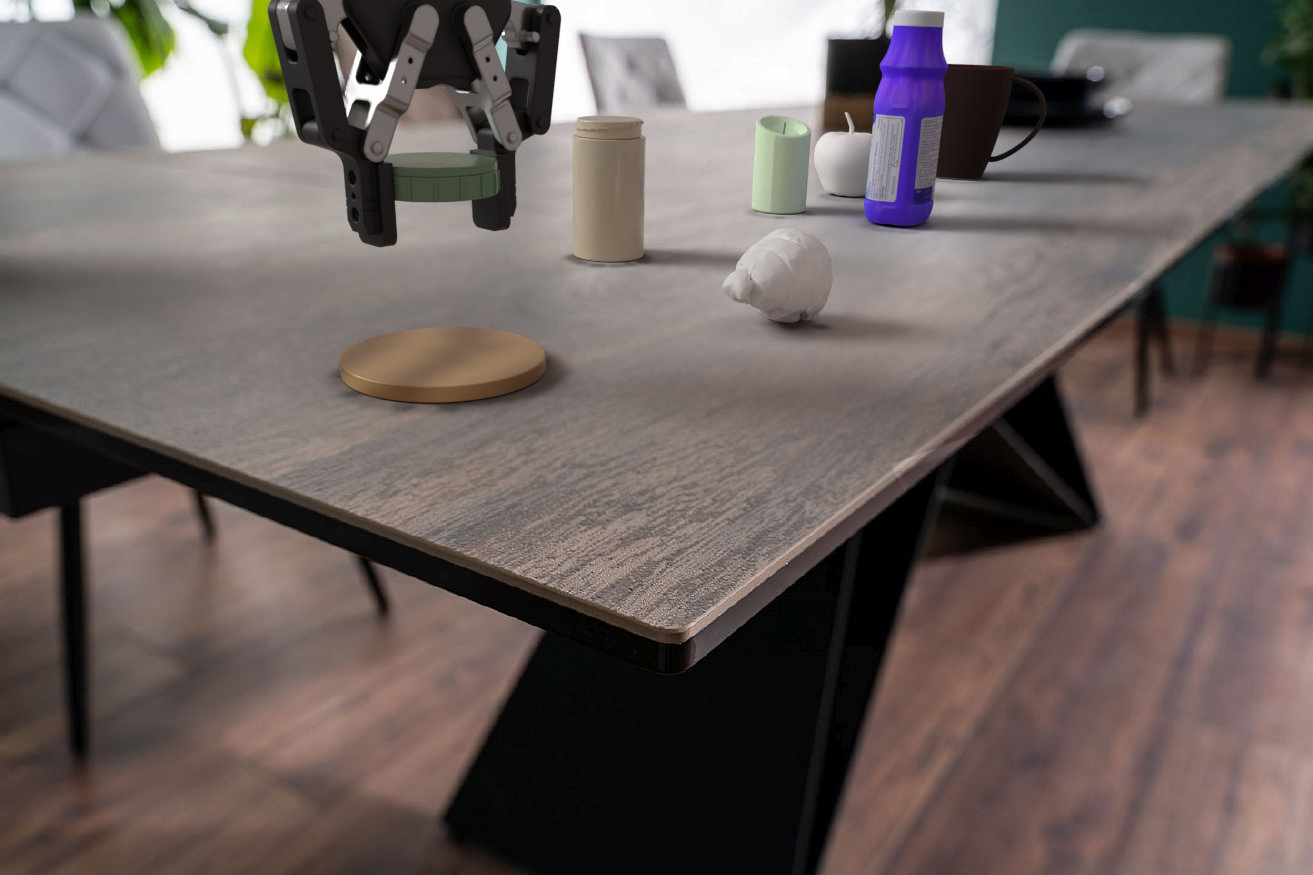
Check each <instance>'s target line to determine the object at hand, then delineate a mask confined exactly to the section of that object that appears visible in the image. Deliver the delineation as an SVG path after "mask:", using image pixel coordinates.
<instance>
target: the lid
mask: <svg viewBox="0 0 1313 875" xmlns="http://www.w3.org/2000/svg"><path fill="white" fill-rule="evenodd" d="M384 162H390V163H392V164H393V179H394V194H395V202H405V203H455V202H456V203H457V202H468V201H469V202H470V201H472V200H477V199H483V198H488V197H491V196H494V195H496V194H497V193H498V191H499V190H500V170H498V169H497V168H498V160H497V159H496V158H494V157H491V156H486V155H480V154H471V153H470V152H451V151H420V152H419V151H418V152H401V153H389V154H388V155H387V157H386V158H385V159H384Z"/></svg>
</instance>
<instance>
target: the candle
mask: <svg viewBox="0 0 1313 875" xmlns="http://www.w3.org/2000/svg"><path fill="white" fill-rule="evenodd" d="M811 141H812V131H811V128H810V127H809V126H808V124H806V123H805V122H804V121H803V122H802V121H800V120H798V119H796V118H792V117H788V116H785V115H779V114H778V115H777V114H776V115H774V114H769V115H763V116H760V117H758V118H757V120H756V121H755V135H754V154H753V170H752V171H753V172H752V190H751V205H750V206H751V209H752V210H754V211H756V212H759V213H763V214H772V215H773V214H774V215H795V214H800V213H803V212H804V211H806V208H807V196H808V184H809V183H808V181H809V180H808V179H809V168H810V156H811V155H810V154H811Z"/></svg>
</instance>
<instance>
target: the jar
mask: <svg viewBox="0 0 1313 875" xmlns="http://www.w3.org/2000/svg"><path fill="white" fill-rule="evenodd" d="M643 125H644V120H642V118H640V117H633V116H625V115H623V116H622V115H586V116H584V115H583V116H579V117H577V119H576V125H575V131H576V134H573V135H572V222H573V223H572V224H573V225H572V229H573V231H572V232H573V233H572V234H573V235H572V236H573V238H572V239H573V240H572V242H573V243H572V244H573V255H574V256H575V257H576V258H579V259H582V260H586V261H591V262H605V263H608V262H609V263H615V262H627V261H635V260H638V259H641V258H642V257H644V254H645V247H644V246H645V199H646V154H647V153H646V146H647V145H646V144H647V137H646V136H645V135H643V134H642V131H643Z"/></svg>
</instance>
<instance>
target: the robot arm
mask: <svg viewBox="0 0 1313 875" xmlns="http://www.w3.org/2000/svg"><path fill="white" fill-rule="evenodd" d="M267 16H268V17H267V18H268V20H269V24H270V29H271V32H272V36H273V40H274V45H275V49H276V53H277V58H278V61H279V65H280V70H281V73H282V78H283V83H284V86H285V89H286V95H287V99H288V101H289V106H290V111H291V115H292V118H293V123H294V127H295V132H296V135H297V137H298V139H299V140H300V141H301V142H302V143H304V144H307V145H311V146H314V147H318V148H321V149H324V150H326V151H330V152H333V153H334V154H336V156H337V157H339V159H340V160H341V163H342V168H343V179H344V182H343V183H344V191H345V194H344V195H345V205H346V217H347V221H348V224H349V227H350V229H351V231H352V232H353V233H357V234H358V237H359V239H360V241H361V242H362V243H363V244H365V245H370V246H372V247H376V248H386V247H392V246H395V245H396V244H397V242H398V226H397V225H398V224H397V212H396V211H397V210H396V201H395V194H394V179H393V164H392V163H390V162H384V159H385V158H386V157H387V155H389V152H390V150H391V149H390V148H391V146H392V143H393V141H394V140H393V139H394V137H395V133H396V130H397V127H398V123H399V120H400V118H401V116H402V115H404V114H405V113H407V111H408V110H409V108H410V106H411V103H412V100H413V96H414V94H415V91H416V90H427V89H428V90H429V89H431V88H434V87H444V88H445V90H446V93H447V95H448V97H449V99H450V101H451V102H452V103H453V104H454V105H455V106H457V108H458V109H459V110H460V112H461V114H462V117H463V119H464V122H465V124H466V126H467V129H468V131H469V134H470V136H471V138H472V141H473V143H474V144H475V145H476V146H477V148H476V149H475V148H474V149H469V153H471V154H480V155H486V156H491V157H494V158H496V159H497V160H498V168H497V169H498V170H500V190H499V191H498V193H497V194H496V195H494V196H491V197H488V198H483V199H477V200H471V218H472V221H473V224H474V226H476V228H479V229H483V230H486V231H490V232H491V231H492V232H499V231H506V230H508V229H509V228H510V226H511V219H512V217H514V216H515V214H516V210H517V203H518V202H517V186H516V184H517V174H516V173H517V172H516V171H517V169H516V154H517V150H518V149H519V148H520V146H521V144H522V143H523V142H525V141H526V140H528V139H530V138H531V137H533V136H535V135H537V136H544V135H546V134H547V133H548V132H549V130H550V128H551V122H552V121H551V120H552V115H553V114H552V112H553V105H554V104H553V102H554V93H555V84H556V76H557V74H556V73H557V64H558V54H559V47H560V46H559V45H560V35H561V26H562V14H561V11H560V9H559V8H558V6H556V5H554V4H543V3H525V2H523V1H522V2H521V1H518V0H270V1H269V3H268V5H267ZM339 26H341V27H342V28H343V30H344V31H345V33H346V34H347V36H348V37H349V38H350V40H351V42H352V43H353V44H354V46H355V47H356V52H355V55H354V59H353V61H352V66H351V68H350V72H349V75H348V78H347V81H346V84H345V88H344V95H343V90H342V86H341V81H340V77H339V72H338V68H337V62H336V60H335V54H334V49H335V48H336V46H337V45H338V42H339V40H340V34H339V32H338V31H339ZM500 38H501V39H502V41H503V42H504V43H505V45H506V54H505V67H503V63H502V61H501V58H500V56H499V54H498V50H497V48H496V47H497V44H498V42H499V40H500ZM344 98H345V99H344ZM345 100H346V104H345Z"/></svg>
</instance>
